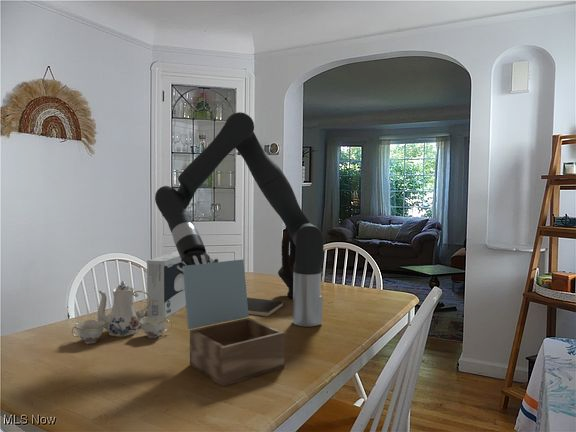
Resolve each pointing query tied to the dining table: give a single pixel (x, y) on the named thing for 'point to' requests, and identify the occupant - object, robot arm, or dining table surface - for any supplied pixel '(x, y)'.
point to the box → (236, 350)
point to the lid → (215, 293)
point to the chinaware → (121, 318)
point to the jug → (288, 262)
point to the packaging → (165, 285)
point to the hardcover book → (263, 306)
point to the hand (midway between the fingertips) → (208, 290)
